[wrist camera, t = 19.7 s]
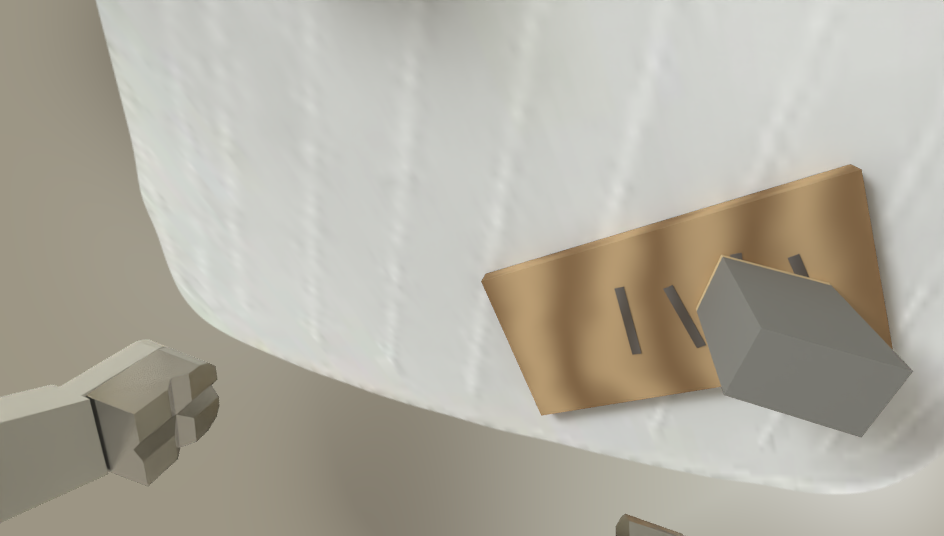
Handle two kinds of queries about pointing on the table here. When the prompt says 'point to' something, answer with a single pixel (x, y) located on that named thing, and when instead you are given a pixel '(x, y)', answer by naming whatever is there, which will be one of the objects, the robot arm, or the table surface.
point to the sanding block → (796, 347)
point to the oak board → (675, 290)
